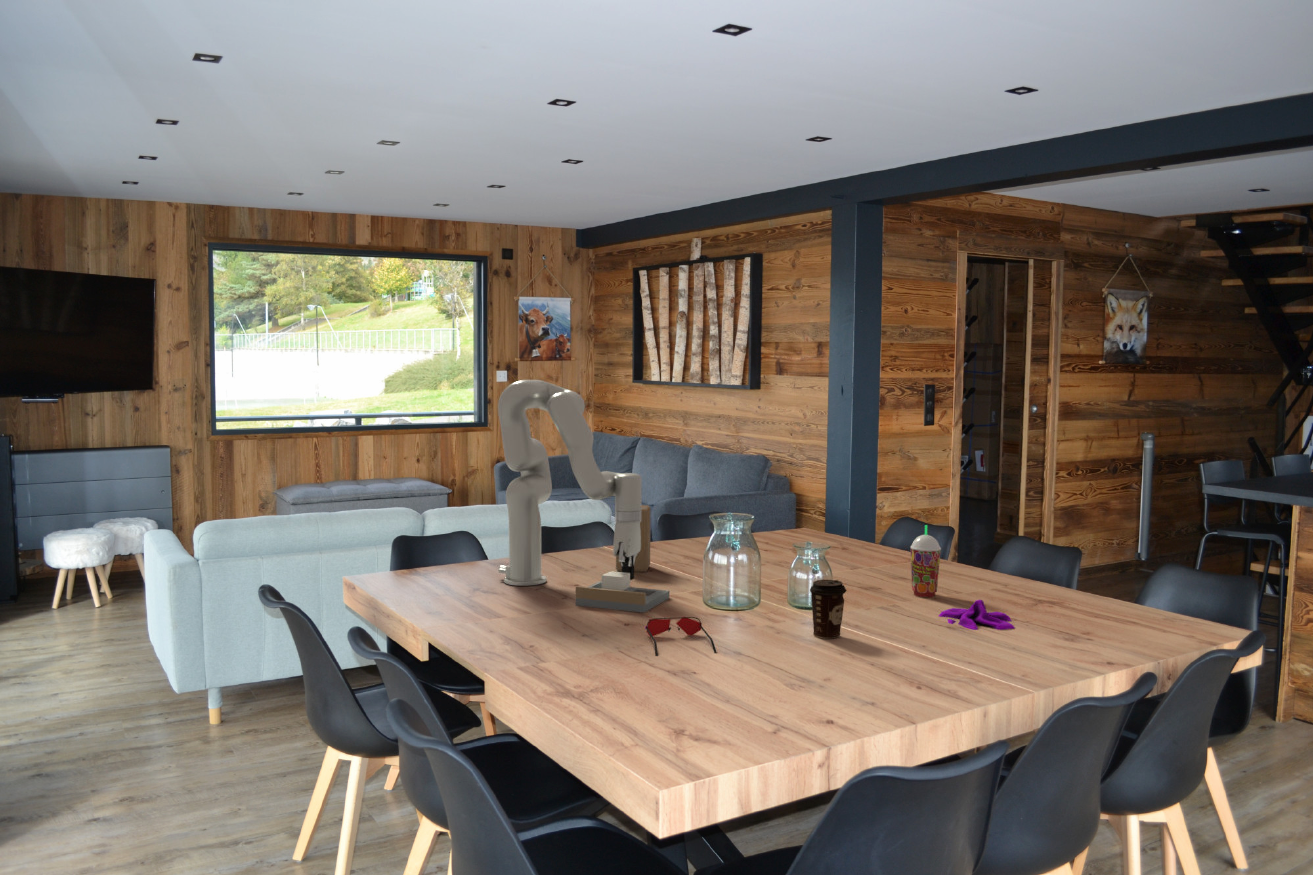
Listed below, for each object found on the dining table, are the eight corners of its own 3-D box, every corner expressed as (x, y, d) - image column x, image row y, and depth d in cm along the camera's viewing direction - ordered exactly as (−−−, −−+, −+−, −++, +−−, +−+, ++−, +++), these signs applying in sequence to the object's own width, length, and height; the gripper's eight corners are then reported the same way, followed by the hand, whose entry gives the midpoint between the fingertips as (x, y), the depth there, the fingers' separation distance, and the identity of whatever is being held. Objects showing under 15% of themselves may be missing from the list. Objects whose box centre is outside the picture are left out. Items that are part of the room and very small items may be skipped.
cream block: (601, 589, 274) (601, 575, 274) (610, 585, 280) (610, 571, 280) (621, 591, 272) (621, 577, 272) (630, 586, 278) (630, 572, 277)
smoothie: (907, 596, 276) (908, 526, 275) (911, 590, 284) (912, 522, 282) (937, 599, 273) (939, 528, 271) (941, 593, 281) (943, 524, 279)
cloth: (935, 611, 262) (935, 588, 261) (1008, 615, 258) (1009, 592, 258) (941, 633, 240) (942, 608, 240) (1022, 638, 236) (1022, 613, 236)
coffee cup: (848, 633, 238) (849, 580, 237) (843, 641, 230) (844, 587, 229) (812, 629, 241) (813, 577, 240) (806, 638, 233) (807, 584, 232)
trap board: (575, 605, 264) (575, 586, 264) (604, 591, 281) (604, 574, 281) (644, 612, 257) (644, 593, 256) (669, 597, 273) (669, 580, 273)
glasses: (701, 635, 237) (701, 614, 236) (716, 655, 220) (717, 633, 220) (644, 637, 234) (644, 616, 234) (655, 657, 218) (655, 635, 218)
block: (650, 566, 317) (650, 504, 315) (647, 572, 307) (647, 509, 305) (619, 565, 318) (619, 504, 316) (615, 572, 308) (615, 508, 306)
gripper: (626, 512, 291) (626, 573, 292) (605, 519, 277) (605, 583, 278) (650, 513, 288) (649, 575, 289) (629, 520, 274) (629, 585, 275)
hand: (628, 579), depth 284 cm, fingers closed
